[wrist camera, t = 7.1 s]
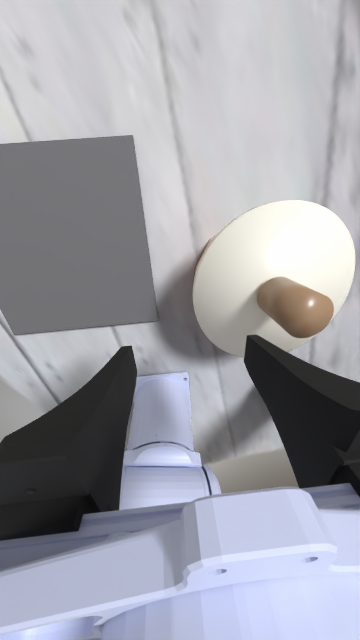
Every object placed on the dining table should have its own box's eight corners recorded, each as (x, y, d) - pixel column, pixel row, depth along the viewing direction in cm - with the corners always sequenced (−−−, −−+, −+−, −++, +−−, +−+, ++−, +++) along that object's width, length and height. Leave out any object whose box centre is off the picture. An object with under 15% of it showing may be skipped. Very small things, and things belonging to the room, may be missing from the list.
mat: (158, 319, 23) (158, 320, 22) (16, 332, 22) (14, 334, 22) (133, 137, 15) (132, 135, 15) (-79, 151, 15) (-85, 149, 14)
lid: (325, 344, 20) (375, 382, 15) (197, 361, 19) (207, 404, 15) (369, 190, 14) (473, 175, 9) (185, 212, 14) (196, 207, 9)
